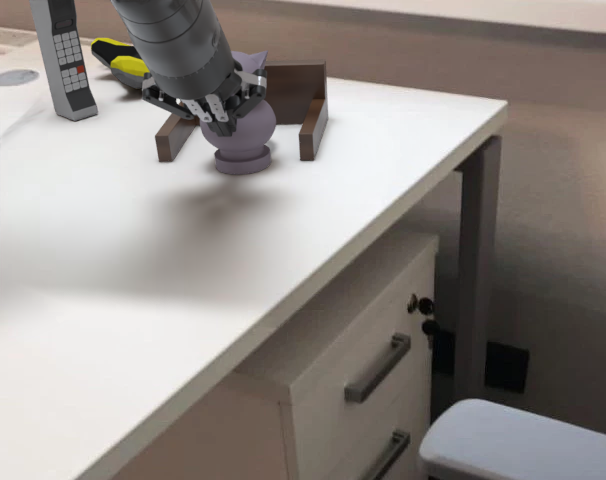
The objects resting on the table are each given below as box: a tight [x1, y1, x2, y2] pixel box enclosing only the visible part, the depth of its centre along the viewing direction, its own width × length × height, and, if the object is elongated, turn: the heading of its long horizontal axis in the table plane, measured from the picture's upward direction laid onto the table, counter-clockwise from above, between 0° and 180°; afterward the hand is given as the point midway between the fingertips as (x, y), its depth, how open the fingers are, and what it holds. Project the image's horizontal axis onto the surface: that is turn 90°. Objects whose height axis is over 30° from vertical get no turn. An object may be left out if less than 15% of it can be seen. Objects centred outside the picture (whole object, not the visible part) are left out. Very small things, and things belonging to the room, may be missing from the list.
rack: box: [154, 58, 329, 163], centre depth 104 cm, size 14×18×7 cm
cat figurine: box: [199, 50, 277, 175], centre depth 96 cm, size 8×8×12 cm
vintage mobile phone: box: [28, 0, 99, 122], centre depth 110 cm, size 4×5×25 cm
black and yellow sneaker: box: [90, 37, 150, 90], centre depth 125 cm, size 15×6×10 cm
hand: (225, 128), depth 94 cm, fingers closed
